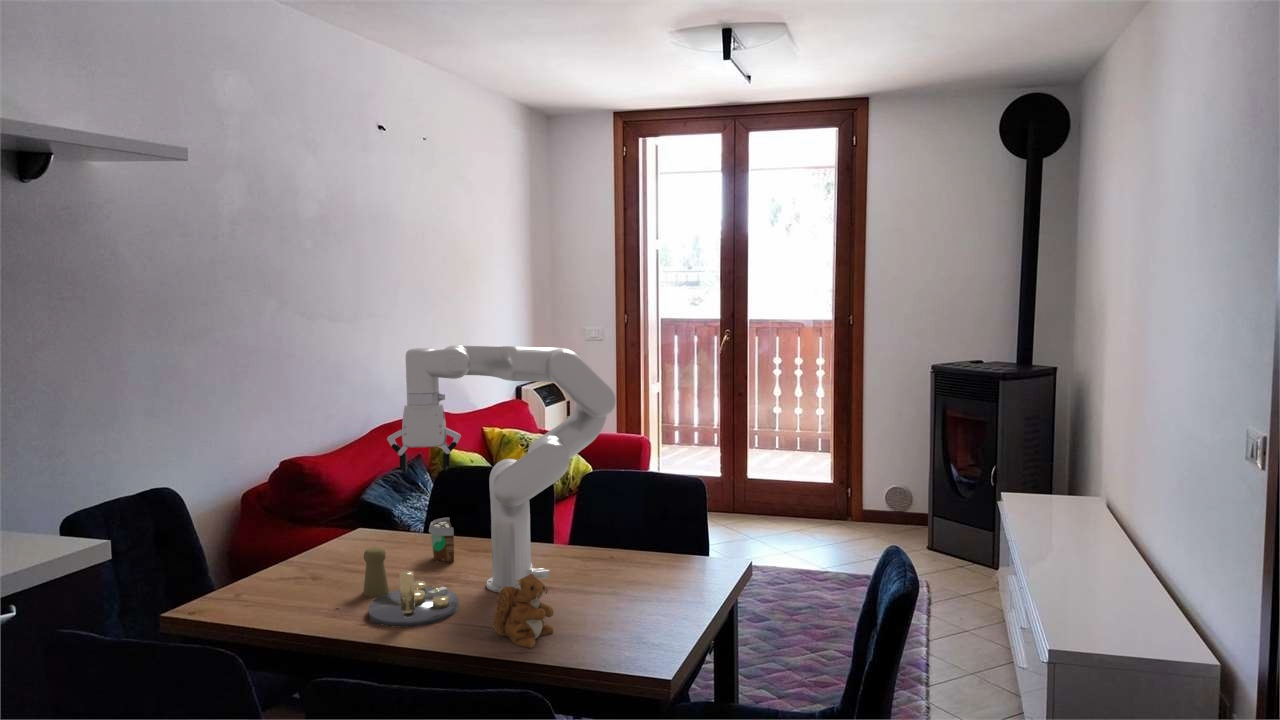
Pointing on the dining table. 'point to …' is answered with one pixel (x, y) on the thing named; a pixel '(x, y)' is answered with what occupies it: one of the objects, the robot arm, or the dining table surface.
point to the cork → (375, 572)
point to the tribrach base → (432, 610)
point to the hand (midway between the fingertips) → (425, 470)
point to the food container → (442, 540)
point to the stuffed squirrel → (522, 612)
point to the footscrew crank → (409, 592)
